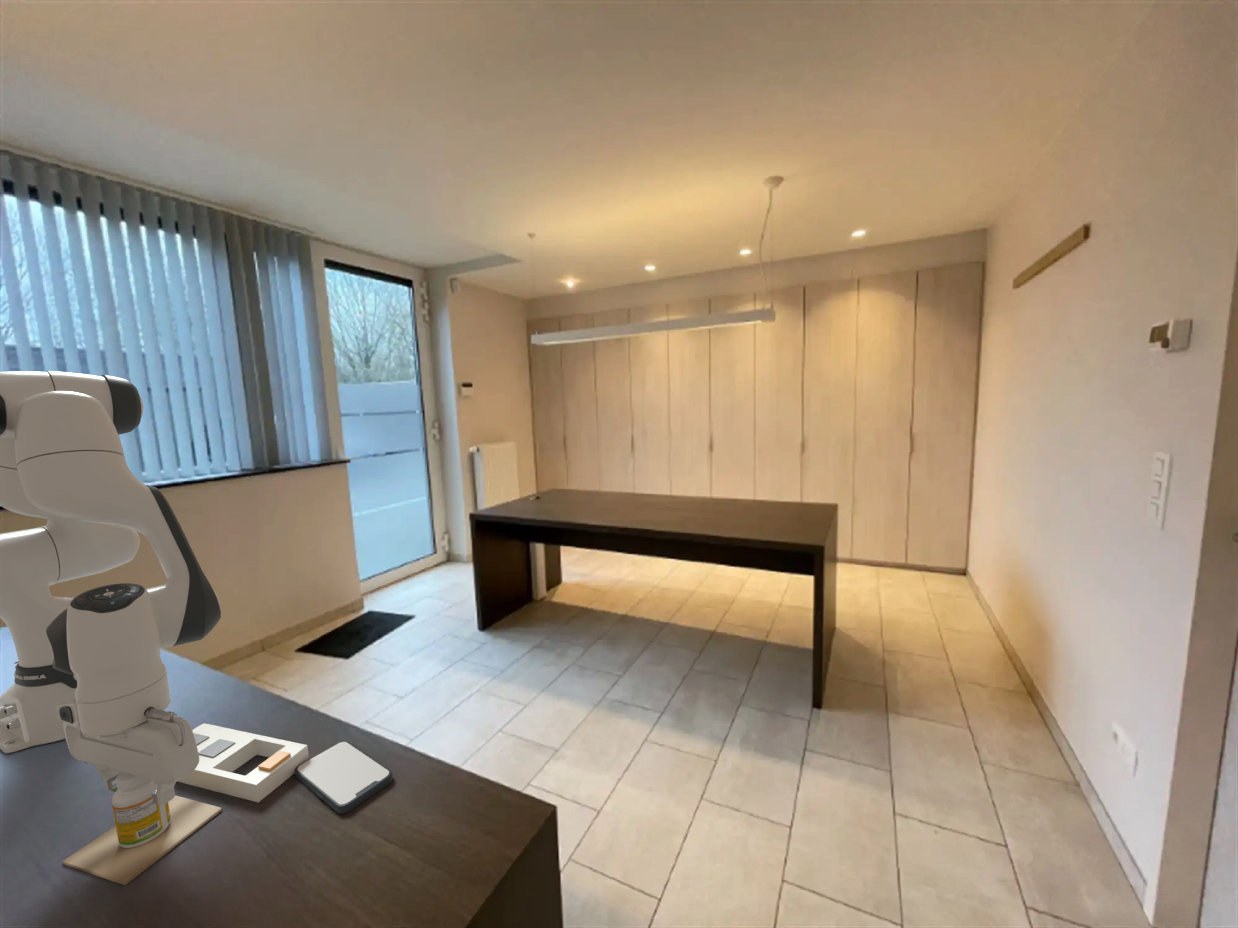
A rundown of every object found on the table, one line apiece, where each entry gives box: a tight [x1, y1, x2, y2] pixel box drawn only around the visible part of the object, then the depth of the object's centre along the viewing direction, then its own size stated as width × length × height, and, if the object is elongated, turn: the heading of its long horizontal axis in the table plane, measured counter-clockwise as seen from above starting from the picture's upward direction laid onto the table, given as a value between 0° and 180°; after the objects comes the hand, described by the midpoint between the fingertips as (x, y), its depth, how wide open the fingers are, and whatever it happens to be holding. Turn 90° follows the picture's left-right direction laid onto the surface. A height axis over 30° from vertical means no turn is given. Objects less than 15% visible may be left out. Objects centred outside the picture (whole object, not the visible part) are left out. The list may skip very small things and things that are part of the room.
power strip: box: [177, 722, 310, 803], centre depth 83 cm, size 24×9×4 cm, turn 75°
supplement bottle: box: [111, 772, 171, 848], centre depth 69 cm, size 5×5×10 cm
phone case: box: [294, 740, 393, 815], centre depth 80 cm, size 9×2×16 cm
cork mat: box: [62, 794, 223, 886], centre depth 70 cm, size 12×12×1 cm
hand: (140, 794), depth 69 cm, fingers open, 8 cm apart
